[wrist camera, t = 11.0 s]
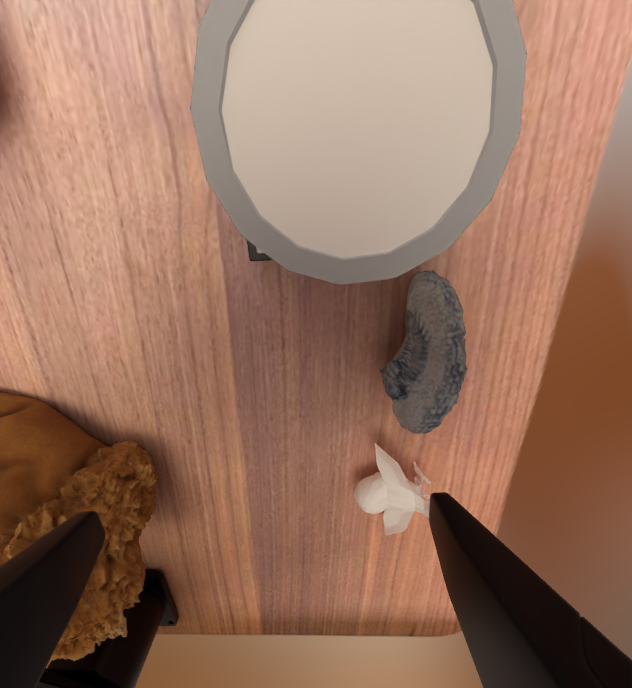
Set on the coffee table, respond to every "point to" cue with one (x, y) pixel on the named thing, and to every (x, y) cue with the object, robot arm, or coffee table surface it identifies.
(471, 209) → the shot glass
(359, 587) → the coffee table surface
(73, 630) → the stuffed squirrel
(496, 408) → the coffee table surface
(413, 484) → the toy bird
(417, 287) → the fossil
